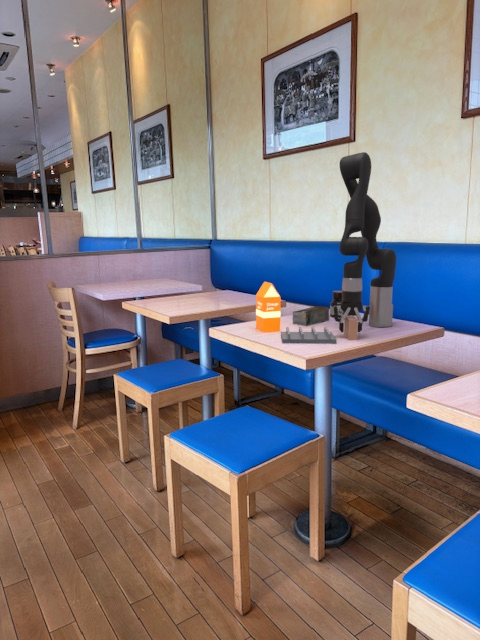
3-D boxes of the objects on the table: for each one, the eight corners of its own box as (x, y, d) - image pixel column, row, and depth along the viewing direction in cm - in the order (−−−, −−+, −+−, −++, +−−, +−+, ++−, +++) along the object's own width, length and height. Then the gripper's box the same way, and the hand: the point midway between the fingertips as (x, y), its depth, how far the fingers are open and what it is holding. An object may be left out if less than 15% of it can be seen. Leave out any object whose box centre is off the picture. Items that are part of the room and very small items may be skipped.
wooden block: (351, 334, 193) (352, 315, 192) (356, 340, 183) (357, 319, 182) (343, 334, 193) (344, 315, 192) (348, 340, 183) (349, 319, 182)
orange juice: (272, 327, 208) (272, 281, 204) (280, 331, 199) (281, 283, 196) (255, 328, 205) (255, 281, 201) (263, 332, 197) (263, 284, 193)
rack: (331, 335, 191) (331, 327, 190) (336, 343, 178) (336, 334, 178) (280, 335, 192) (281, 326, 191) (282, 343, 179) (282, 334, 178)
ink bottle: (327, 317, 229) (328, 292, 227) (329, 314, 238) (330, 290, 235) (348, 318, 227) (349, 293, 225) (349, 315, 235) (350, 290, 233)
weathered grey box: (291, 324, 214) (291, 309, 213) (315, 318, 228) (315, 304, 227) (306, 326, 209) (306, 311, 208) (329, 320, 223) (330, 306, 222)
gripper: (368, 288, 188) (366, 330, 191) (331, 288, 189) (330, 330, 192) (373, 290, 181) (371, 334, 184) (334, 290, 181) (333, 334, 184)
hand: (350, 331), depth 188 cm, fingers open, 6 cm apart
